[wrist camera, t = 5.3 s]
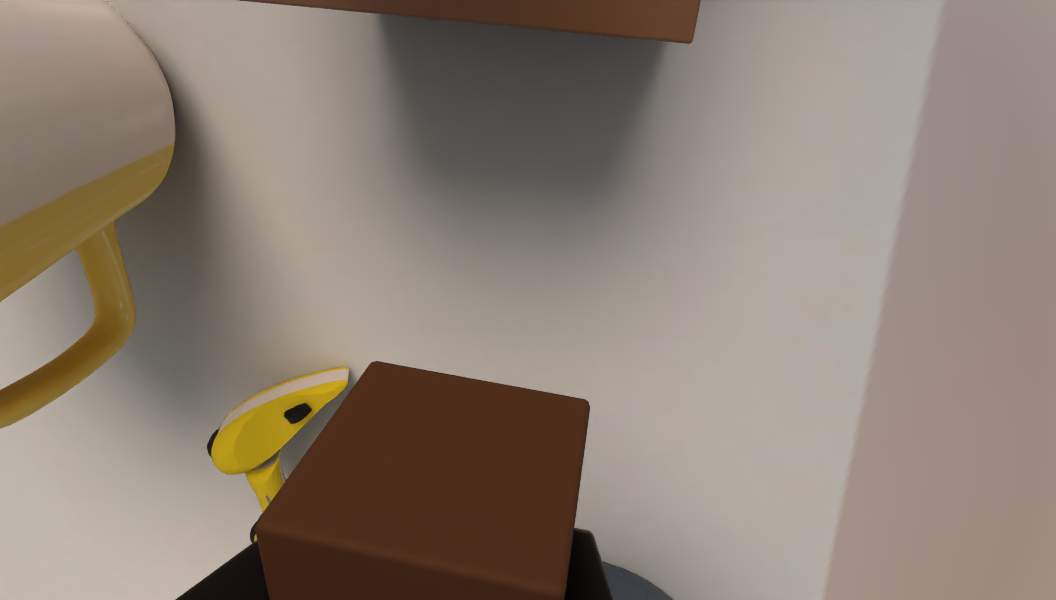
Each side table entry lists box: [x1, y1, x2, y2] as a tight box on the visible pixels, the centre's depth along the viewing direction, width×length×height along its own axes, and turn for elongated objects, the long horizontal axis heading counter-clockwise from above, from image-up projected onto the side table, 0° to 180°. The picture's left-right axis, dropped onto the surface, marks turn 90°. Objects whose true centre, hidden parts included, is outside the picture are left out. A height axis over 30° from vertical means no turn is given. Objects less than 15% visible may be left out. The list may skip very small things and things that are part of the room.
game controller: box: [207, 367, 349, 543], centre depth 26 cm, size 10×6×4 cm, turn 7°
